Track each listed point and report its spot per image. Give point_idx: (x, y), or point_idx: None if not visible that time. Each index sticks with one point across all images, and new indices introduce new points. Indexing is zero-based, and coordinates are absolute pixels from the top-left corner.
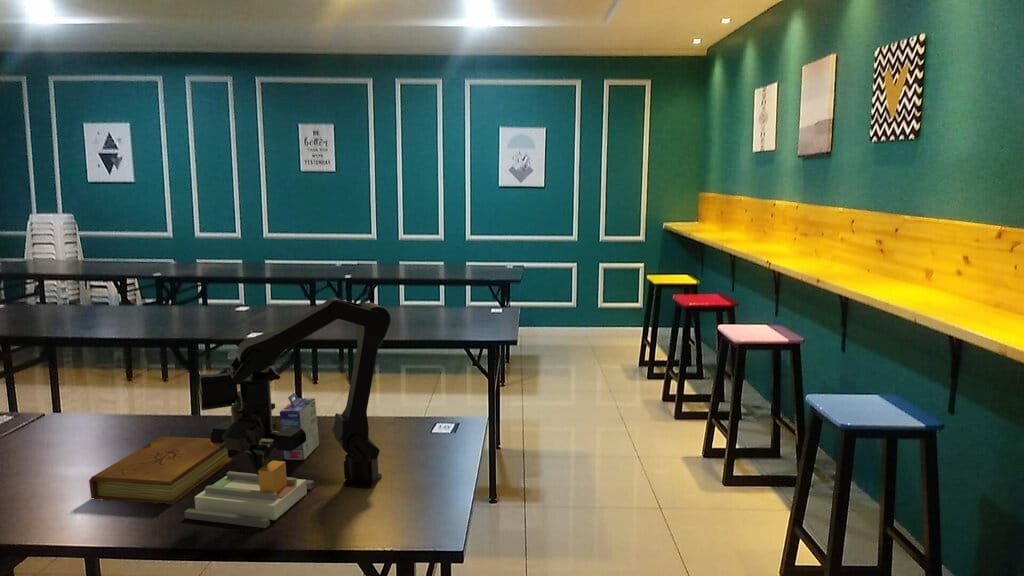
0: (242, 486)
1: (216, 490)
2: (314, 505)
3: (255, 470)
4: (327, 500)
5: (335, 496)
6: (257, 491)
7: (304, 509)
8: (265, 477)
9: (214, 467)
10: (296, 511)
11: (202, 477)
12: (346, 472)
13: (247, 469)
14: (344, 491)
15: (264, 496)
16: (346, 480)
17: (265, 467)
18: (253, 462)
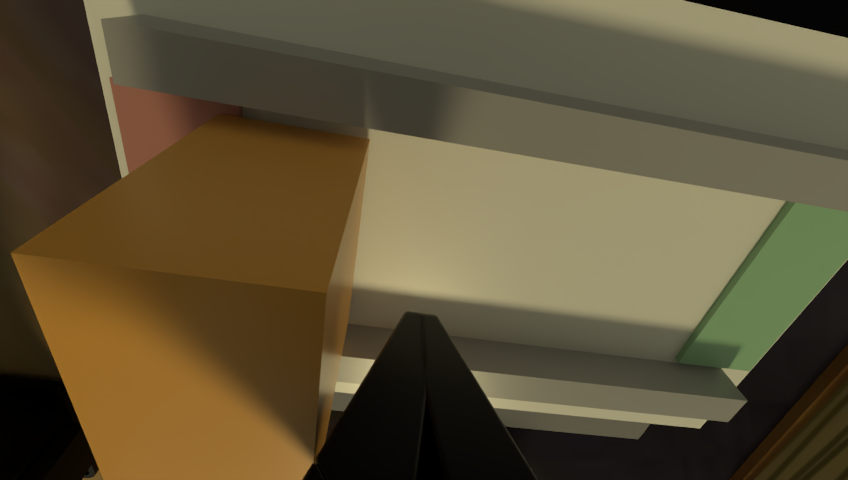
0: (585, 275)
1: (817, 151)
2: (39, 172)
3: (457, 357)
4: (12, 238)
5: (8, 284)
6: (369, 109)
7: (60, 111)
8: (226, 209)
9: (773, 474)
10: (95, 76)
11: (826, 408)
12: (24, 458)
13: (616, 472)
14: (9, 334)
15: (265, 44)
16: (64, 415)
17: (269, 385)
18: (487, 469)
